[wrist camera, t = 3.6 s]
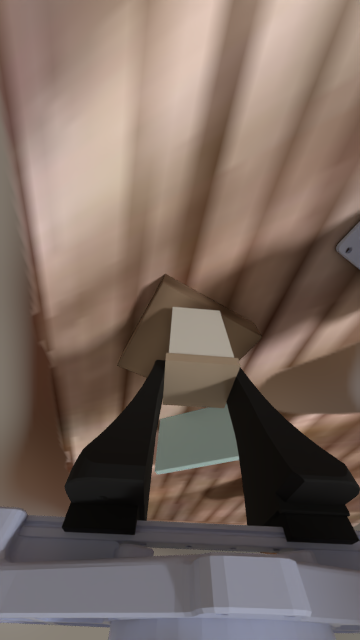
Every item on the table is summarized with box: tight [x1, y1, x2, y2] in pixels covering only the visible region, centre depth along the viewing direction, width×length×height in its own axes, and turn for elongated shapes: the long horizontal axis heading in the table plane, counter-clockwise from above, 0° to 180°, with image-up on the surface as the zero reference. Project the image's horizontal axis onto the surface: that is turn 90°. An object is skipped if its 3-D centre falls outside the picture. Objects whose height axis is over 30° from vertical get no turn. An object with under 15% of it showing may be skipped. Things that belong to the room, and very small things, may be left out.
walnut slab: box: [117, 274, 262, 377], centre depth 21 cm, size 11×11×3 cm
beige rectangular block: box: [163, 307, 241, 408], centre depth 15 cm, size 4×4×6 cm
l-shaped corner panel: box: [155, 403, 239, 474], centre depth 29 cm, size 12×12×8 cm
